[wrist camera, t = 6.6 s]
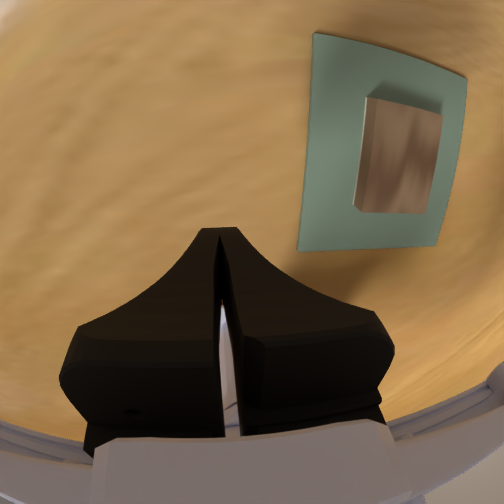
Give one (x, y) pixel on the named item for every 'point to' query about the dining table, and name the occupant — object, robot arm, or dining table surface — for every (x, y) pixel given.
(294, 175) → the dining table surface
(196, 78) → the dining table surface
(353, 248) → the mat
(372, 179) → the tile
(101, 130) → the dining table surface
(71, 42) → the dining table surface
